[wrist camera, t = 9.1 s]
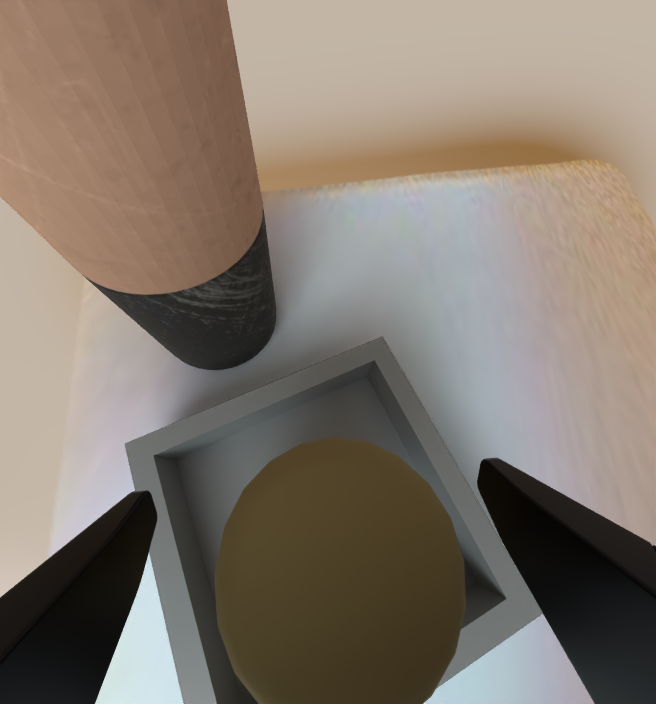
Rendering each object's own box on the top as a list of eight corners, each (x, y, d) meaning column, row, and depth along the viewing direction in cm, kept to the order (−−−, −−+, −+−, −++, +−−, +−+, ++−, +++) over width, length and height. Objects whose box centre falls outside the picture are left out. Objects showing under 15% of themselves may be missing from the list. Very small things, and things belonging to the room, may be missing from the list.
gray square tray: (495, 587, 16) (542, 613, 13) (238, 756, 13) (215, 843, 10) (370, 360, 20) (382, 336, 17) (158, 451, 17) (124, 443, 14)
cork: (406, 563, 15) (600, 712, 5) (282, 623, 14) (209, 967, 4) (356, 438, 17) (422, 367, 7) (245, 482, 16) (136, 469, 6)
